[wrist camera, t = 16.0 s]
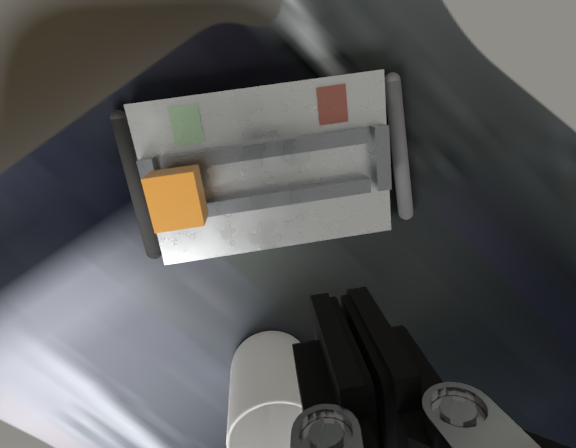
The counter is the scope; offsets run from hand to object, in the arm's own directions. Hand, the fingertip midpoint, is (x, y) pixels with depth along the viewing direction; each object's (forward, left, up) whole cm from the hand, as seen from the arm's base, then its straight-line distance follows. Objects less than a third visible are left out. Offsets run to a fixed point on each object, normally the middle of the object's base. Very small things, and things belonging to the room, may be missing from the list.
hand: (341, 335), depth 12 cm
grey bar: (0, +12, -26) cm, 28 cm away
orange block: (0, +8, -23) cm, 25 cm away
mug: (-20, +2, -26) cm, 32 cm away
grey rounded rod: (0, -11, -26) cm, 28 cm away
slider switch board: (0, +1, -26) cm, 26 cm away
